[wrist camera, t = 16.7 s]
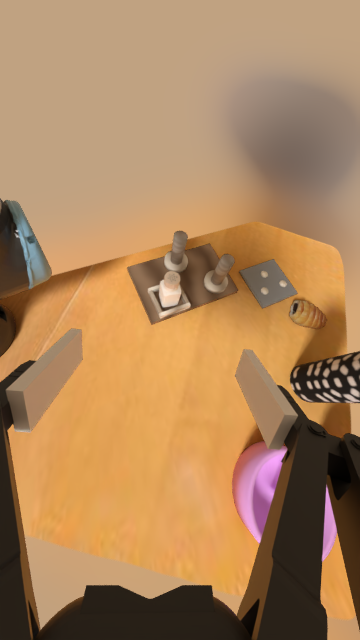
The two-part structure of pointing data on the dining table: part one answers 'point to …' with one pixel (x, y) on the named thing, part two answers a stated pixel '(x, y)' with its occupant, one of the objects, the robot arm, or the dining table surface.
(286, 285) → the tile
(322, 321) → the pastry
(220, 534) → the dining table surface
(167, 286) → the pepper shaker
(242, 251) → the dining table surface
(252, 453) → the container set
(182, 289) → the pin board
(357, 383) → the spotted tube
